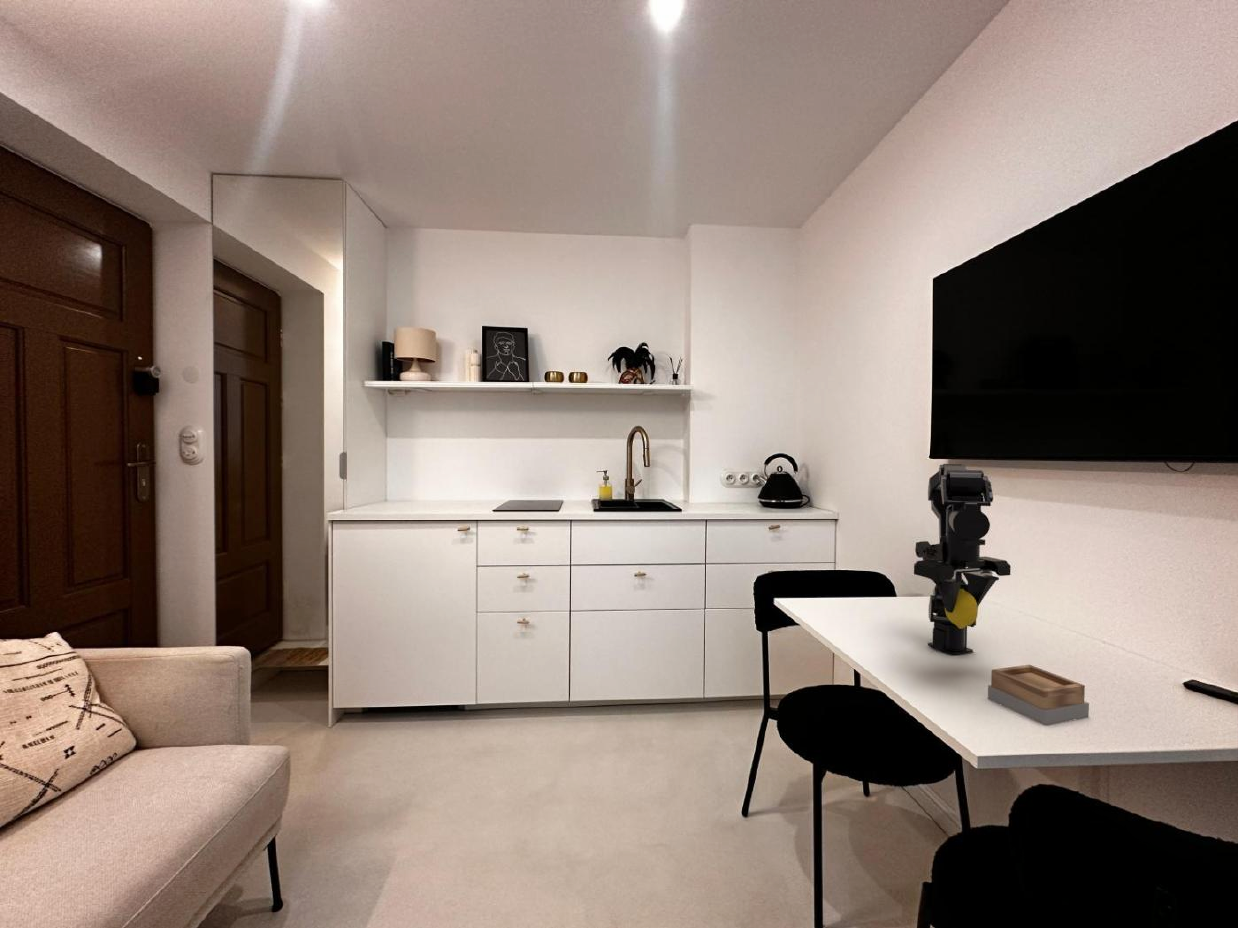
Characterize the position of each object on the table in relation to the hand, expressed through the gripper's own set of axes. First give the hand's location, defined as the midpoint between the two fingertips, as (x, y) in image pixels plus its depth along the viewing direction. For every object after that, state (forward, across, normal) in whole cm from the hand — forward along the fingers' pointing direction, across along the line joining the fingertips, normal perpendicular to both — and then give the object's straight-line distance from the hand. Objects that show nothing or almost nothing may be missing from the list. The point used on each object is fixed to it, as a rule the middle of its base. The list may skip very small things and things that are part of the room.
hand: (961, 610), depth 107 cm
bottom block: (+14, -1, +14) cm, 20 cm away
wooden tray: (+11, -1, +14) cm, 18 cm away
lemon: (+4, 0, 0) cm, 4 cm away
